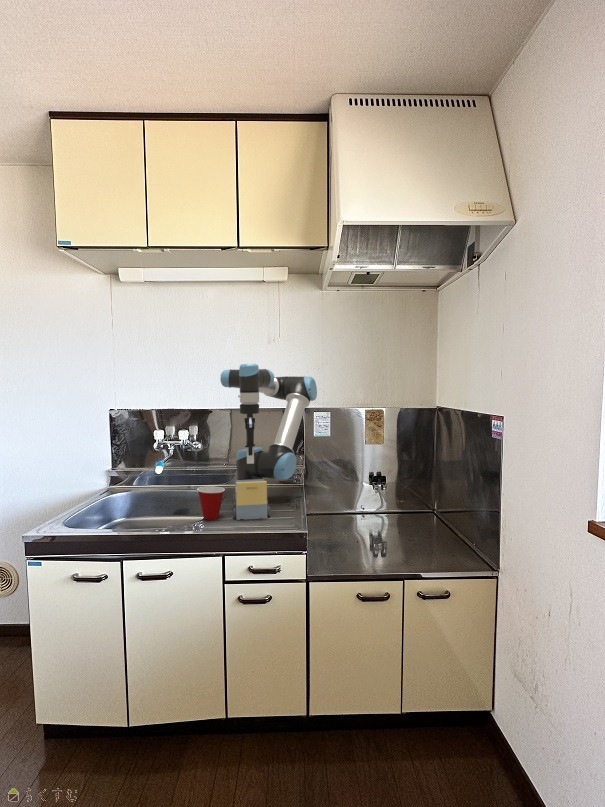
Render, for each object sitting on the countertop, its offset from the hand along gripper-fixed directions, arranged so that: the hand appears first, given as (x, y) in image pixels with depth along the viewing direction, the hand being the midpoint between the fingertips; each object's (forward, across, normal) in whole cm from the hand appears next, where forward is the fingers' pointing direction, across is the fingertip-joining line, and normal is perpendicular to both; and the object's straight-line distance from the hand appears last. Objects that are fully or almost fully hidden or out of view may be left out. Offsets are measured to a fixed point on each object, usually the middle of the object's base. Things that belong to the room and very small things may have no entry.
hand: (250, 463), depth 185 cm
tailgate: (+15, +4, 0) cm, 16 cm away
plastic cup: (+22, -1, -15) cm, 27 cm away
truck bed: (+21, -4, 0) cm, 22 cm away
